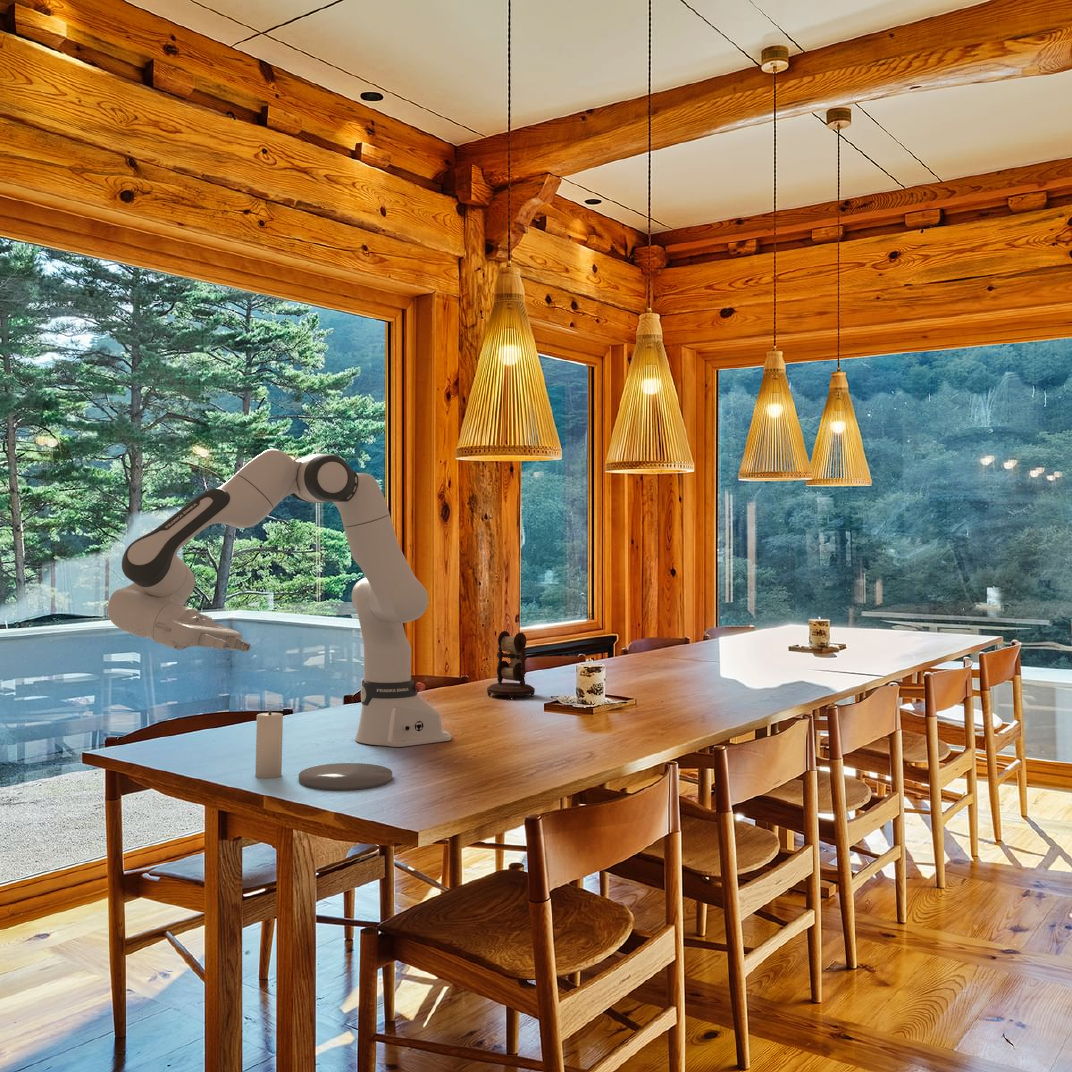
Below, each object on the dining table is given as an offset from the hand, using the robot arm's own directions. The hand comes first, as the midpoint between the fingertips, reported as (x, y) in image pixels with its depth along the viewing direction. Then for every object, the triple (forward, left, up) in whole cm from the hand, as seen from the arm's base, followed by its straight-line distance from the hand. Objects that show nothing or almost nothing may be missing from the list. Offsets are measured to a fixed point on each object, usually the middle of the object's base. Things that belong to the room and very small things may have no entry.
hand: (236, 646), depth 200 cm
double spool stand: (-96, -69, -25) cm, 121 cm away
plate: (-18, +16, -25) cm, 35 cm away
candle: (-5, +7, -25) cm, 26 cm away
